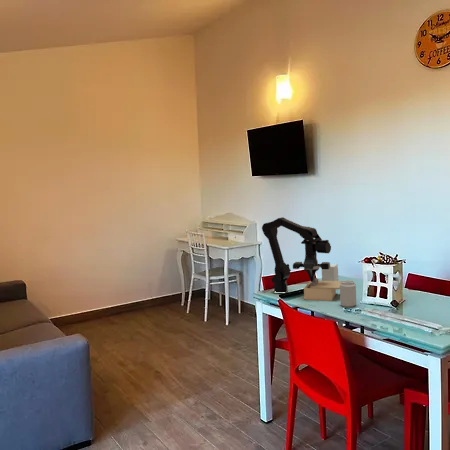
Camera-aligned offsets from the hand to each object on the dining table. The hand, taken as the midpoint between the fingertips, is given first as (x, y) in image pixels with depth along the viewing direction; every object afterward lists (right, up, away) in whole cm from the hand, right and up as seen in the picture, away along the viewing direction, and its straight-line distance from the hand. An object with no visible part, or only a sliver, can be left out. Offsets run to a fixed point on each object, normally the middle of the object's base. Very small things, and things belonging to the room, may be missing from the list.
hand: (312, 281), depth 250 cm
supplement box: (+14, -6, +18) cm, 23 cm away
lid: (+7, -2, -3) cm, 8 cm away
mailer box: (+4, -8, -1) cm, 9 cm away
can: (+14, -9, -19) cm, 26 cm away
